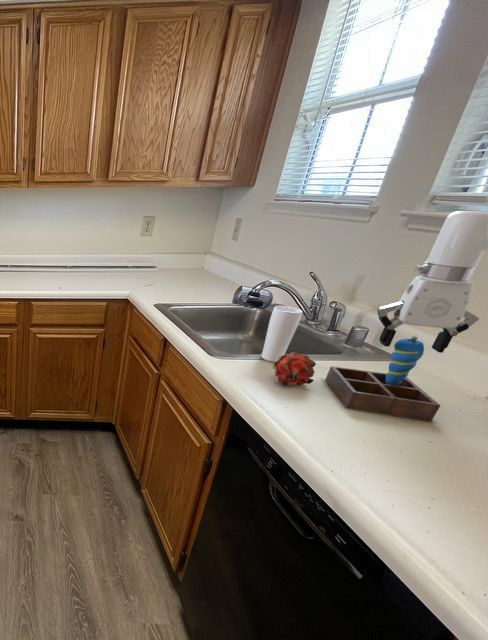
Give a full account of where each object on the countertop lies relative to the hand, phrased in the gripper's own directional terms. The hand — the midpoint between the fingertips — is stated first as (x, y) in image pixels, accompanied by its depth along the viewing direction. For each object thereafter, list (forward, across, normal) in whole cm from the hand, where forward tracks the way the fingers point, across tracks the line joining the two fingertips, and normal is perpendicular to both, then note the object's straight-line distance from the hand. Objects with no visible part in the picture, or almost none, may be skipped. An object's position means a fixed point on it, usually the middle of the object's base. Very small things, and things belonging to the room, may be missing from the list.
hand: (410, 347), depth 96 cm
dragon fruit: (+13, -21, -2) cm, 24 cm away
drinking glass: (+13, -22, +14) cm, 29 cm away
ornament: (+12, 0, 0) cm, 12 cm away
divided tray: (+13, -4, -4) cm, 14 cm away
